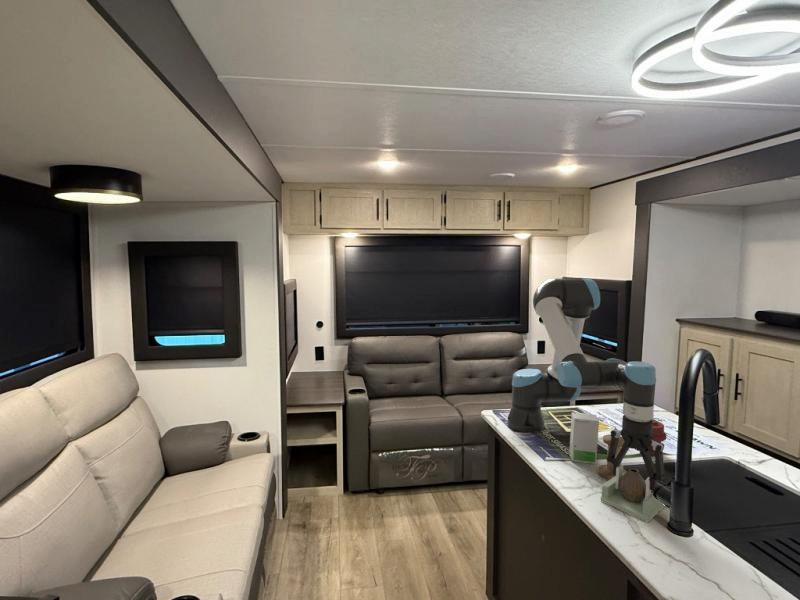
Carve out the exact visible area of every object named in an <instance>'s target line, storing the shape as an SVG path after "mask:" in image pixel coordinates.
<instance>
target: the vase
mask: <svg viewBox="0 0 800 600" xmlns="http://www.w3.org/2000/svg"><path fill="white" fill-rule="evenodd" d="M644 480H645V479H644V478H643V477H642V475H641V473H640V471H639V470H638V469H636V468H629V469H628V471H627V473H626V474H624V475H623V476H622V478H621V480H620V492H621V494H622V496H623V497H624V498H625V499H626V500H627V501H629V502H632V503H639V502H641V501H643V500H644V498H645V494H646V483H645V481H644Z"/></svg>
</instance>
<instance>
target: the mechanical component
mask: <svg viewBox="0 0 800 600" xmlns="http://www.w3.org/2000/svg"><path fill="white" fill-rule="evenodd" d="M652 421H653V429H652V438H653V440H654V441H655V442H657V443H659V444H660V443H663V442H664V441H666V440H667V432H665V424H663V423H662V422H660V421H659V420H657V419H654V418H653V419H652ZM649 449H650V455H651V457H652V456H654V452H655V450H653V446H652V445H650V446H649Z"/></svg>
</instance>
